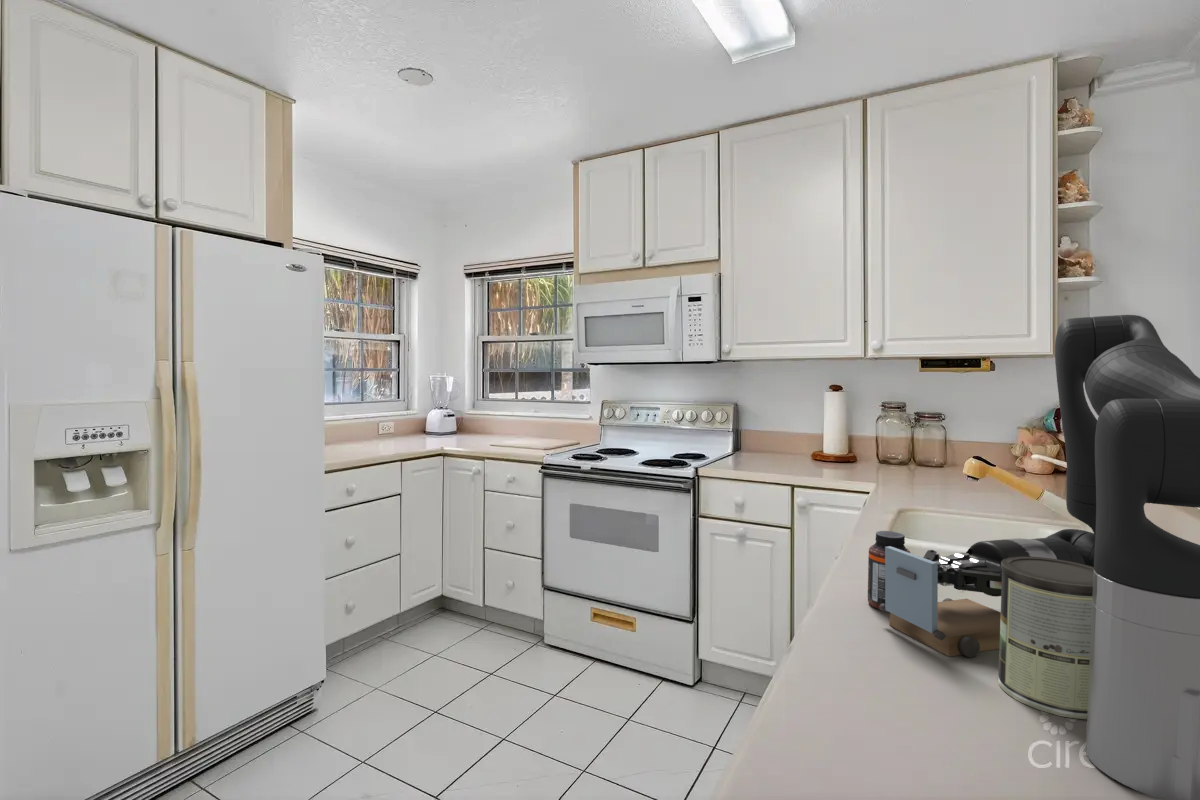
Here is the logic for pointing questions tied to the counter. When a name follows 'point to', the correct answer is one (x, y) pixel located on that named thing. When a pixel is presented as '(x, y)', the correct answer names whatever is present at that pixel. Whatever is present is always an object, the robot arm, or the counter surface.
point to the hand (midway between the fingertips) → (913, 576)
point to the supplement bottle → (881, 564)
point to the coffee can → (1046, 634)
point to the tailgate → (911, 588)
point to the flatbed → (957, 628)
